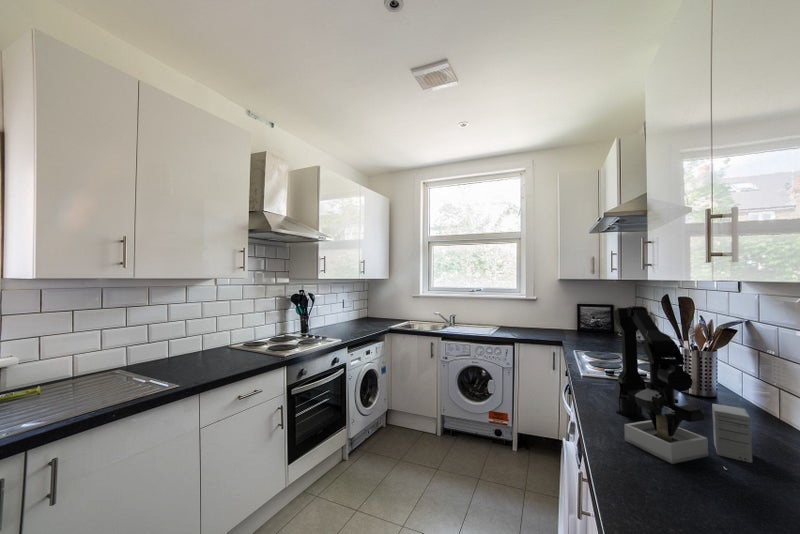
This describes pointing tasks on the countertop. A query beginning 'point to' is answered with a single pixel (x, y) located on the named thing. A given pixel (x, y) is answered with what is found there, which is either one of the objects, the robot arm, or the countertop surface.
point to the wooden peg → (662, 428)
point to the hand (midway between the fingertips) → (664, 433)
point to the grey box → (673, 452)
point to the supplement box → (732, 432)
